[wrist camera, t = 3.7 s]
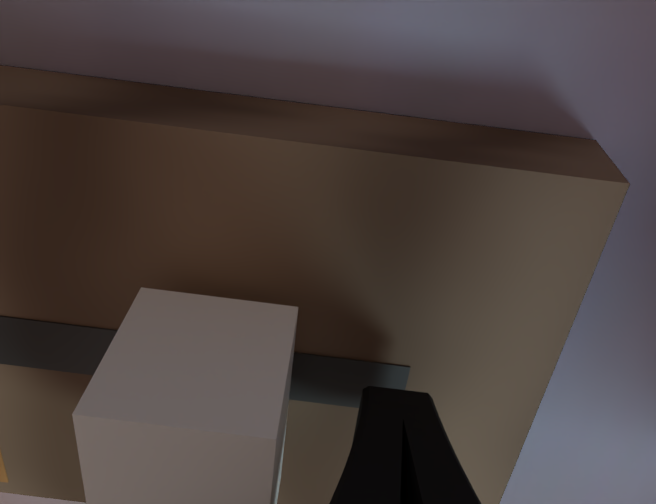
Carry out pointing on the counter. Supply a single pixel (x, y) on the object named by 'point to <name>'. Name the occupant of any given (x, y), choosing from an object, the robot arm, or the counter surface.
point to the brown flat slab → (290, 259)
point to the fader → (189, 403)
